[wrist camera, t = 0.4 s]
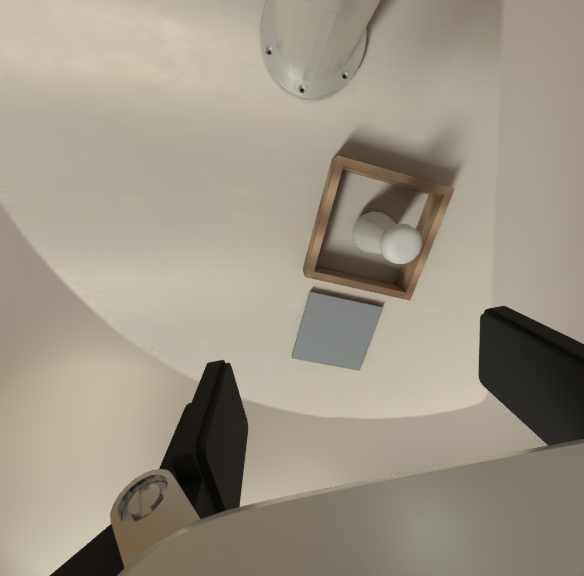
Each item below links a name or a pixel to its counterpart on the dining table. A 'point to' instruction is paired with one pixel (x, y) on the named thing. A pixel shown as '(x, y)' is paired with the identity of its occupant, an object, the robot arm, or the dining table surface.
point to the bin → (425, 227)
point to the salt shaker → (387, 238)
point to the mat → (336, 330)
